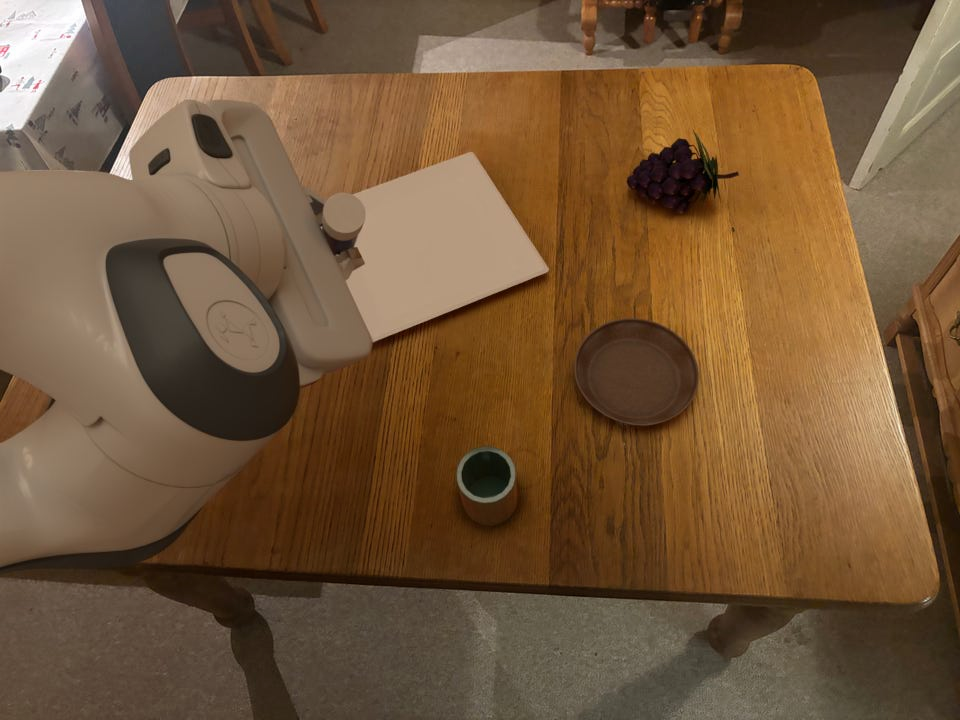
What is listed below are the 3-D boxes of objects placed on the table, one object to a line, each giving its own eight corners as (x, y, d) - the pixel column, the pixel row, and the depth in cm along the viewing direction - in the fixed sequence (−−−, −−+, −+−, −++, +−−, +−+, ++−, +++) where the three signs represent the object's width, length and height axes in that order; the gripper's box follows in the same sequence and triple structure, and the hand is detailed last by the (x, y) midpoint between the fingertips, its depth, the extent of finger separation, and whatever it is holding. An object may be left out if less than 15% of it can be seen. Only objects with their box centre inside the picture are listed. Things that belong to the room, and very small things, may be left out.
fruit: (631, 193, 102) (735, 176, 97) (632, 237, 95) (743, 221, 90) (622, 134, 94) (734, 113, 90) (622, 177, 88) (742, 157, 83)
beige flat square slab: (371, 351, 86) (368, 342, 85) (314, 217, 99) (310, 208, 97) (549, 279, 91) (550, 269, 89) (473, 160, 103) (472, 149, 101)
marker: (325, 288, 63) (336, 240, 47) (309, 260, 63) (315, 202, 47) (353, 274, 64) (373, 222, 48) (337, 247, 64) (352, 185, 48)
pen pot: (493, 537, 73) (489, 515, 66) (451, 502, 75) (444, 478, 68) (528, 495, 75) (528, 469, 68) (486, 463, 78) (482, 435, 71)
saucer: (718, 376, 81) (724, 365, 79) (644, 458, 77) (647, 449, 74) (623, 310, 87) (626, 298, 85) (548, 382, 82) (549, 371, 80)
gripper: (316, 378, 41) (427, 337, 53) (175, 73, 40) (319, 102, 52) (250, 411, 44) (370, 364, 56) (118, 127, 43) (268, 143, 55)
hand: (345, 235), depth 54 cm, fingers closed on marker, 3 cm apart
